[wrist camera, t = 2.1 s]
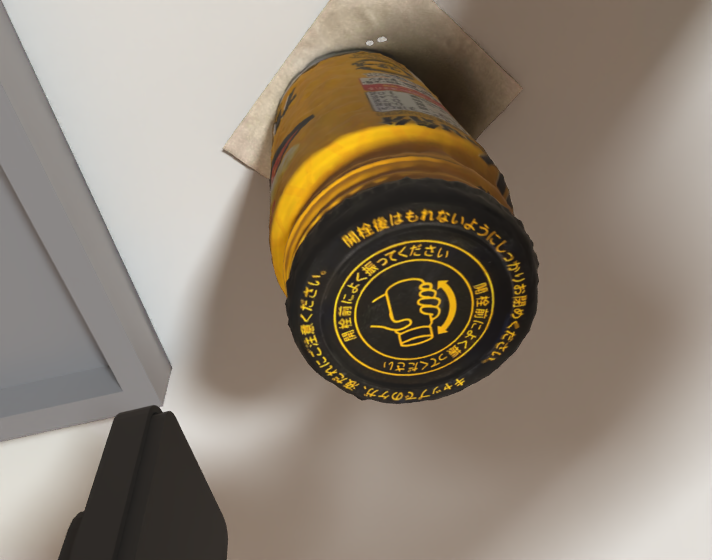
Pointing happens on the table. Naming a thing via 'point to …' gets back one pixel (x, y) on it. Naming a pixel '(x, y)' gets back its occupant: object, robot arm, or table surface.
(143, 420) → the robot arm
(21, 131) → the tray
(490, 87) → the condiment
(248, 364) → the table surface
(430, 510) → the table surface
